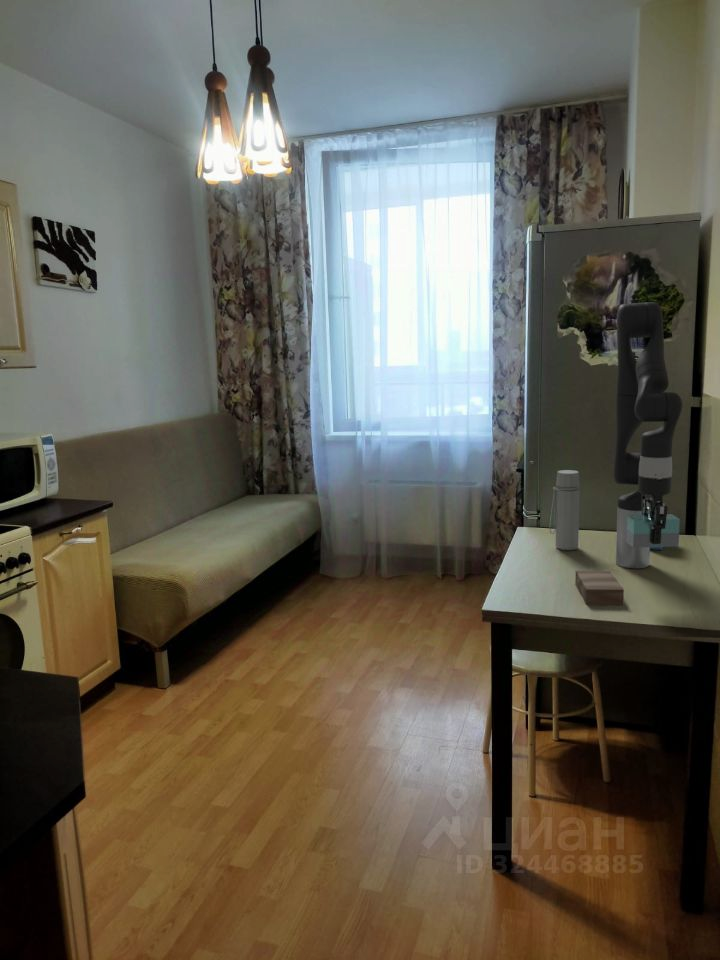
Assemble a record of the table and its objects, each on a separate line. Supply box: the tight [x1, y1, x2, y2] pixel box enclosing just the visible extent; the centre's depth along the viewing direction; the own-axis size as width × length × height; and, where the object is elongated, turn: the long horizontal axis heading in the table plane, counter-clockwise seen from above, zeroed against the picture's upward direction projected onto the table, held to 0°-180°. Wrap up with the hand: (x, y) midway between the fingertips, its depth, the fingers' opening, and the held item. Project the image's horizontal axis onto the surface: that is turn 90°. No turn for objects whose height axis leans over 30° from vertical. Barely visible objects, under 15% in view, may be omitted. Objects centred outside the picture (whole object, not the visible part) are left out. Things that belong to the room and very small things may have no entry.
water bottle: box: [548, 469, 581, 551], centre depth 218 cm, size 9×8×25 cm
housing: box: [626, 513, 681, 548], centre depth 170 cm, size 5×11×7 cm, turn 87°
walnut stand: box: [574, 570, 625, 606], centre depth 178 cm, size 15×9×4 cm, turn 172°
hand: (652, 540), depth 171 cm, fingers closed on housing, 5 cm apart
